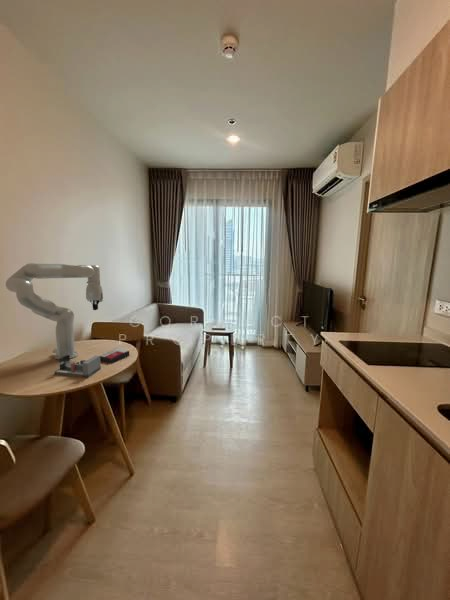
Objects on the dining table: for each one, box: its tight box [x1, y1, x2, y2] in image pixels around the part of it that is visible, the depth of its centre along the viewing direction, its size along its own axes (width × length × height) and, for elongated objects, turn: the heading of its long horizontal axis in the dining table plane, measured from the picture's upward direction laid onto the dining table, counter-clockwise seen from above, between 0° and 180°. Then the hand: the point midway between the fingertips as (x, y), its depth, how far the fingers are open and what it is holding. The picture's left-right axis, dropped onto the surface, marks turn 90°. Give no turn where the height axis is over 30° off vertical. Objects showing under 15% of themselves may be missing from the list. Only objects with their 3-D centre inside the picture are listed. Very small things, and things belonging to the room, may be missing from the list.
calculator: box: [99, 347, 130, 364], centre depth 166 cm, size 11×4×15 cm
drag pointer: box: [71, 363, 75, 372], centre depth 140 cm, size 1×2×5 cm, turn 172°
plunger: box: [58, 355, 80, 369], centre depth 144 cm, size 8×8×6 cm
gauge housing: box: [54, 355, 102, 378], centre depth 145 cm, size 20×11×8 cm, turn 82°
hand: (95, 309), depth 180 cm, fingers closed
